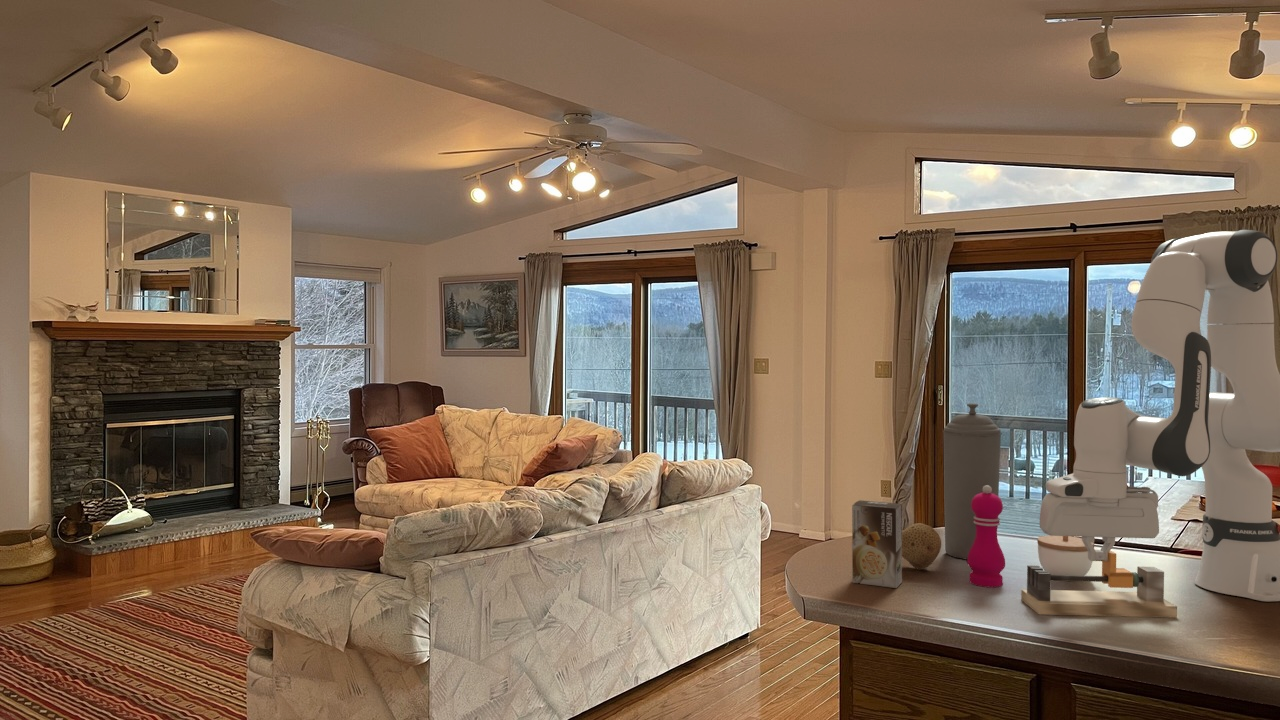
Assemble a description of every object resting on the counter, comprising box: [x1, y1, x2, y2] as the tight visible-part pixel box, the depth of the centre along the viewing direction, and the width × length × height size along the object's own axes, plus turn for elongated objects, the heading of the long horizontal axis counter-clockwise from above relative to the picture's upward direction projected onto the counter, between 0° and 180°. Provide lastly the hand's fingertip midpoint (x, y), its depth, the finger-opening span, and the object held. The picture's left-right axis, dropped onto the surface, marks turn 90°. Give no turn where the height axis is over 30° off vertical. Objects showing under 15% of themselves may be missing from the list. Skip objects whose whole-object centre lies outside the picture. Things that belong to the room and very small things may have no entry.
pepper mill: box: [966, 485, 1006, 588], centre depth 182 cm, size 7×7×20 cm
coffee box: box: [851, 499, 903, 589], centre depth 183 cm, size 9×6×16 cm
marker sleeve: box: [1101, 550, 1134, 589], centre depth 165 cm, size 4×3×6 cm
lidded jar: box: [1036, 534, 1095, 576], centre depth 187 cm, size 11×11×9 cm
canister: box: [942, 402, 1003, 560], centre depth 206 cm, size 13×13×35 cm
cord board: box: [1020, 564, 1178, 618], centre depth 166 cm, size 24×9×8 cm, turn 86°
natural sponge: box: [902, 522, 942, 570], centre depth 193 cm, size 9×9×10 cm
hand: (1097, 560), depth 165 cm, fingers closed
